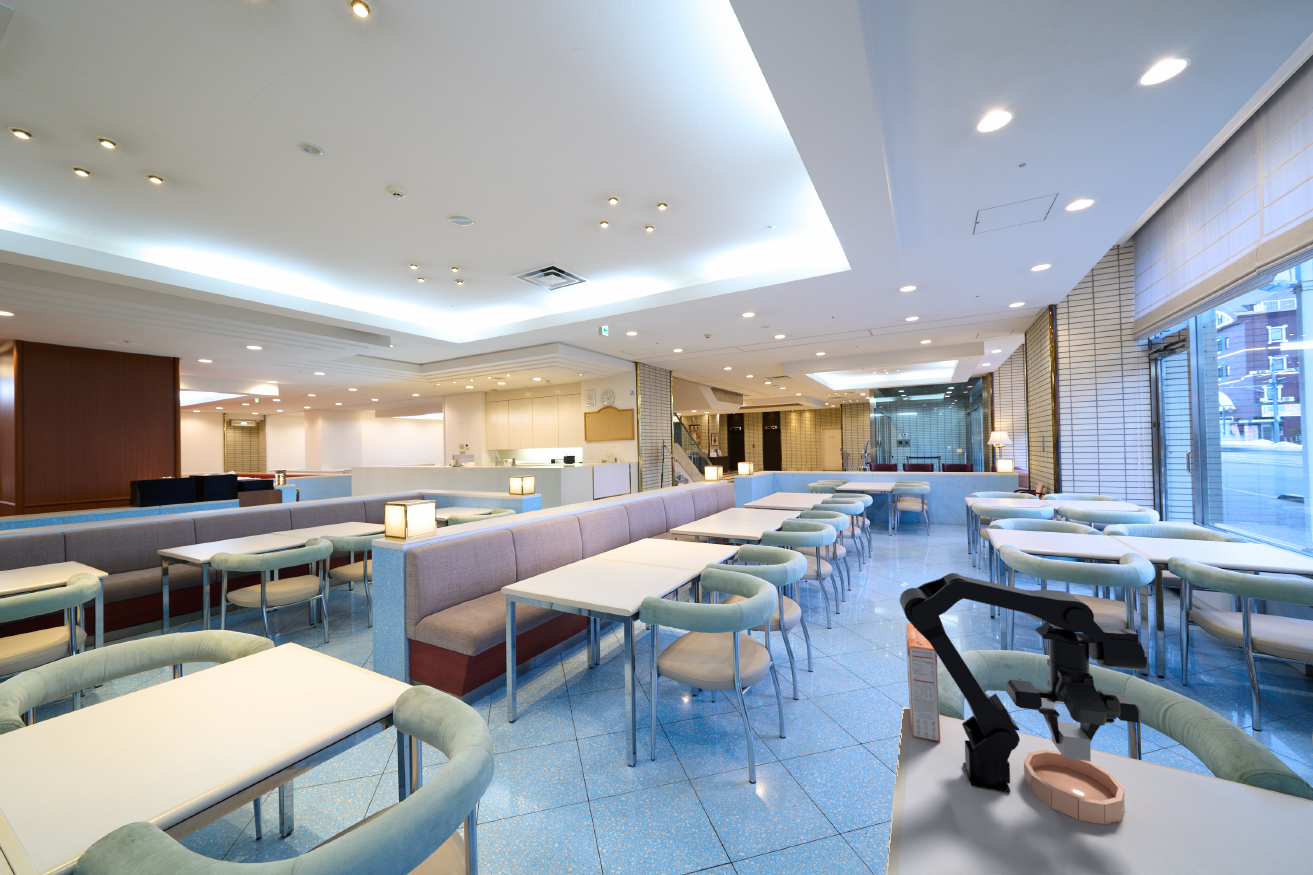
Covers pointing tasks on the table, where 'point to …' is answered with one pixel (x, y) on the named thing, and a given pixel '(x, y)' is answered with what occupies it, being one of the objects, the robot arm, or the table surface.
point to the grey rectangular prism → (1073, 742)
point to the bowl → (1074, 787)
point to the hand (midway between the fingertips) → (1070, 744)
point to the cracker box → (922, 686)
